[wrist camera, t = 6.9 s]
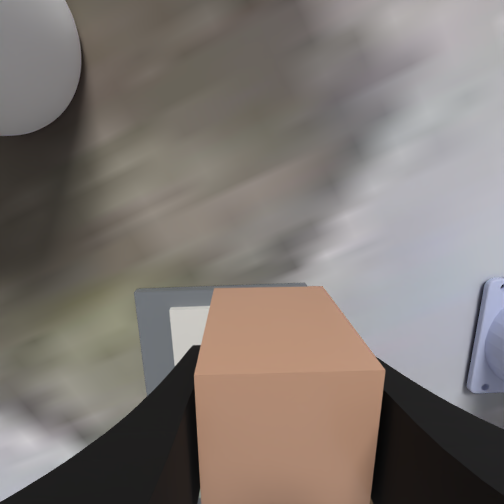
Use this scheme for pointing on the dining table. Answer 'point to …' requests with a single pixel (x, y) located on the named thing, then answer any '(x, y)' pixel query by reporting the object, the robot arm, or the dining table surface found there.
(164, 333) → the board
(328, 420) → the tan short square block
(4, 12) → the cup
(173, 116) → the dining table surface
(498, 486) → the robot arm
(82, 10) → the dining table surface
